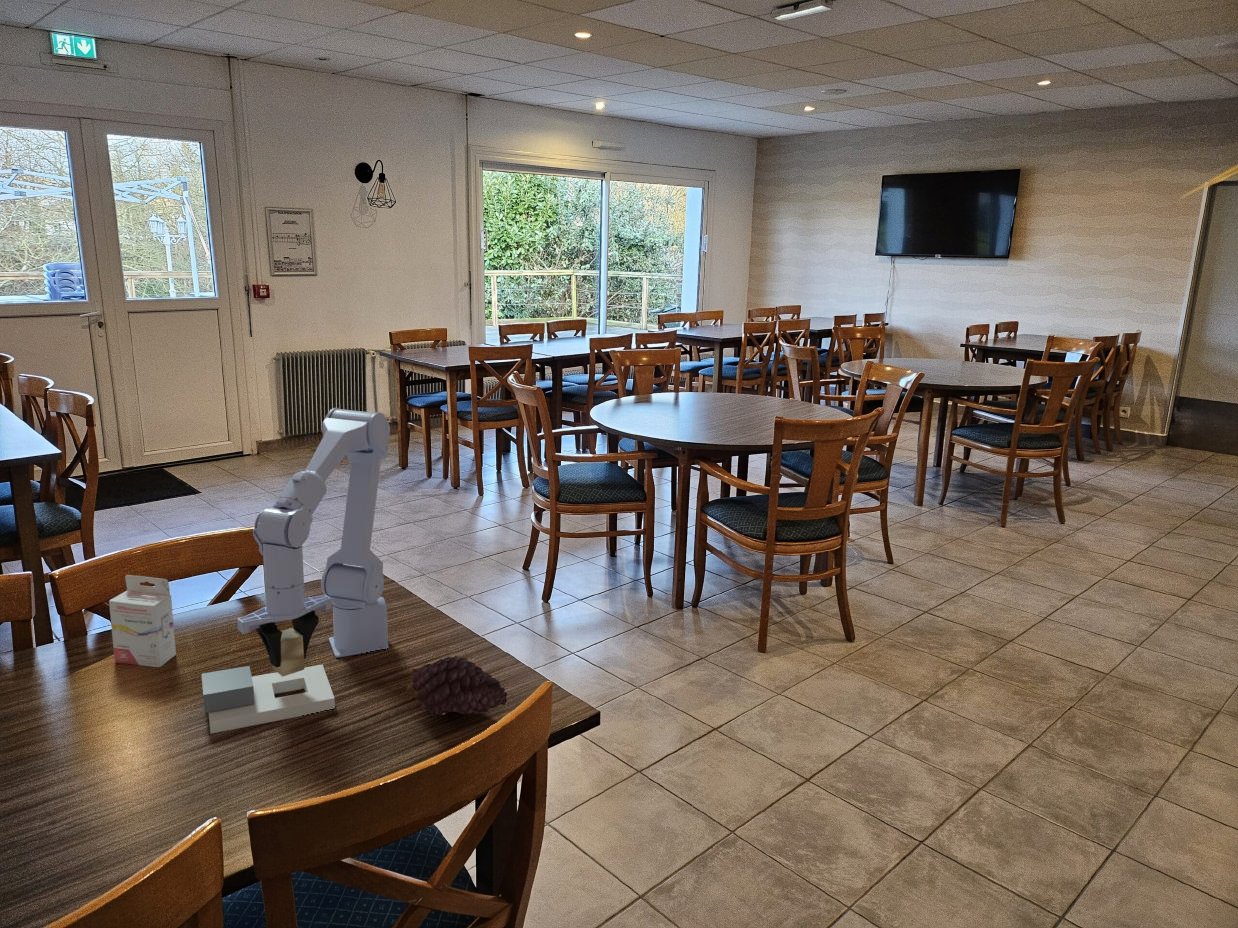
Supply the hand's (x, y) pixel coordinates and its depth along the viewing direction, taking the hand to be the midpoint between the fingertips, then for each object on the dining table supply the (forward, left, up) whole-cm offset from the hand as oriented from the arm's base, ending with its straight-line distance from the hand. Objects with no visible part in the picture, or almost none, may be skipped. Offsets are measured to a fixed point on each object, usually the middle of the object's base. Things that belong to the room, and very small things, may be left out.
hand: (288, 660), depth 135 cm
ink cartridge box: (+21, -23, -7) cm, 32 cm away
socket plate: (+3, 0, -7) cm, 7 cm away
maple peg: (0, 0, -2) cm, 2 cm away
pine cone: (-23, +15, -7) cm, 28 cm away
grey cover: (+9, 0, -5) cm, 10 cm away
